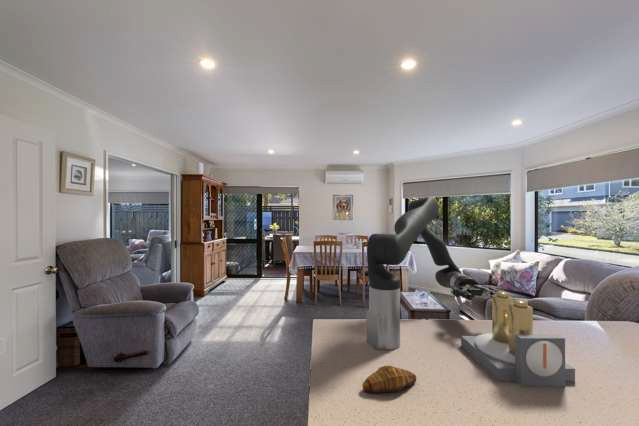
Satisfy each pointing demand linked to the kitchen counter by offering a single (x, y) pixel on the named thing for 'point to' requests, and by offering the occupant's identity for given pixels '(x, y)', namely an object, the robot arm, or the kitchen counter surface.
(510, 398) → the kitchen counter surface
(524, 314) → the weight
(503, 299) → the weight
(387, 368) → the croissant
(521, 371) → the scale
